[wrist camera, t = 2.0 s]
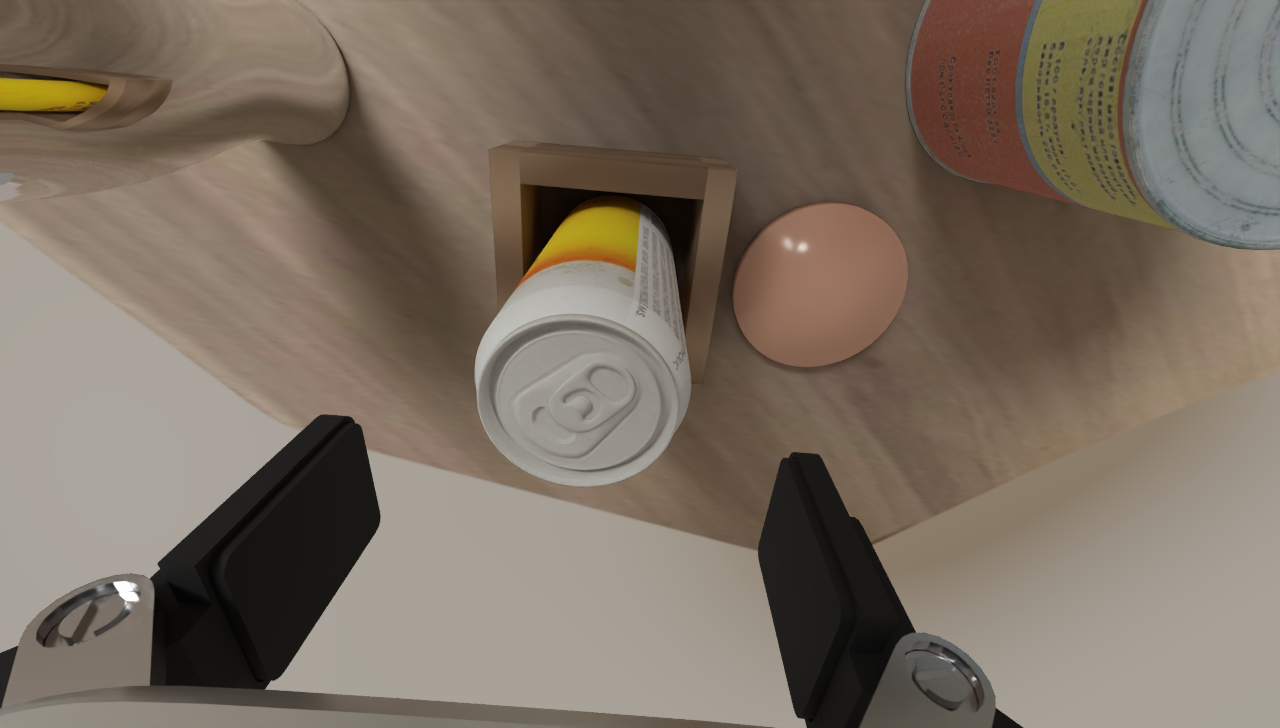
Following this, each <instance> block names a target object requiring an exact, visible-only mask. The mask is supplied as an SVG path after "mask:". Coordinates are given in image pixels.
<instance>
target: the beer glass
mask: <svg viewBox="0 0 1280 728" xmlns="http://www.w3.org/2000/svg"><path fill="white" fill-rule="evenodd" d="M349 97H350V88H349V79H348V74H347V70H346V66H345V63H344V60H343V58H342V55H341V53H340V51H339V49H338V47H337V45H336V43H335V41H334V40H333V38H332V37H331V35H330V34H329V32H328V31H327V29H326V28H325V27H324V26H323V25H322V23H321V22H320V21H319V20H318V19H317V18H316V17H315V16H314V15H313V14H312V13H311V12H310V11H308V10H307V9H306V8H305V7H303V6H302V5H301V4H299V3H298V2H296V1H295V0H0V203H7V202H18V201H28V200H38V199H48V198H56V197H63V196H70V195H77V194H85V193H92V192H99V191H103V190H108V189H113V188H118V187H123V186H127V185H132V184H137V183H142V182H146V181H149V180H152V179H155V178H158V177H161V176H164V175H167V174H170V173H173V172H176V171H179V170H182V169H185V168H187V167H190V166H192V165H194V164H197V163H199V162H202V161H204V160H206V159H209V158H211V157H214V156H216V155H218V154H220V153H223V152H225V151H227V150H229V149H232V148H234V147H237V146H239V145H242V144H244V143H247V142H251V141H256V140H265V141H271V142H277V143H283V144H291V145H309V144H314V143H317V142H320V141H323V140H325V139H326V138H328V137H329V136H331V135H332V134H333V133H334V132H335V131H336V130H337V129H338V128H339V127H340V125H341V124H342V122H343V120H344V118H345V116H346V113H347V110H348V105H349Z"/></svg>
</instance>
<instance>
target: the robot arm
mask: <svg viewBox="0 0 1280 728" xmlns="http://www.w3.org/2000/svg"><path fill="white" fill-rule="evenodd" d="M379 523H380V511H379V506H378V501H377V496H376V492H375V487H374V482H373V478H372V473H371V468H370V464H369V459H368V454H367V450H366V445H365V440H364V436H363V431H362V428H361V426H360V425H359V424H355V422H354V420H353V419H352V417H349V416H338V415H325V414H324V415H320V416H318V417H317V418H316V419H314V420H313V421H312V422H311V423H310V424H309V425H308V426H307V427H306V428H305V429H304V430H302V431H301V432H300V433H299V434H298V435H297V436H296V437H295V438H294V439H293V440H292V441H291V442H289V443H288V444H287V445H286V446H285V447H284V448H283V449H282V450H281V451H279V452H278V453H277V454H276V455H275V456H274V457H273V458H272V459H271V460H270V461H269V462H267V463H266V464H265V465H264V466H263V467H262V468H261V469H260V470H259V471H258V472H257V473H256V474H254V475H253V476H252V477H251V478H250V479H249V480H248V481H247V482H246V483H244V485H242V486H241V487H240V488H239V489H238V490H237V491H236V492H235V493H234V494H232V495H231V496H230V497H229V498H228V499H227V500H226V501H225V502H224V503H223V504H222V505H220V506H219V507H218V508H217V509H216V510H215V511H214V512H213V513H212V514H211V515H209V516H208V517H207V518H206V519H205V520H204V521H203V522H202V523H201V524H200V525H199V526H197V527H196V528H195V529H194V530H193V531H192V532H191V533H190V534H189V535H188V536H187V537H185V539H183V540H182V541H181V542H180V543H179V544H178V545H177V546H176V547H175V548H173V549H172V550H171V551H170V552H169V553H168V554H167V555H166V556H165V557H164V558H163V559H161V561H159V562H158V566H159V567H160V570H159V571H158V572H156V573H155V574H154V575H153V576H152V577H151V578H150V579H148V578H147V577H145V576H144V575H138V574H121V575H114V576H110V577H106V578H103V579H99V580H96V581H93V582H91V583H88V584H86V585H84V586H81V587H79V588H76V589H75V590H73V591H71V592H69V593H68V594H66V595H64V596H62V597H61V598H59V599H57V600H56V601H54V602H53V603H52V604H50V605H49V606H48V607H46V608H45V609H44V610H42V611H41V612H40V613H39V614H38V615H37V616H36V617H35V618H34V619H33V620H32V621H31V623H30V624H29V625H28V626H27V627H26V629H25V631H24V633H23V635H22V637H21V639H20V643H19V646H16V647H14V648H11V649H9V650H7V651H4V652H2V653H0V728H773V727H762V726H751V725H741V724H731V723H720V722H709V721H698V720H685V719H672V718H659V717H645V716H633V715H620V714H607V713H594V712H581V711H568V710H554V709H540V708H525V707H513V706H498V705H485V704H471V703H457V702H443V701H428V700H414V699H400V698H384V697H369V696H353V695H338V694H324V693H307V692H292V691H278V690H265V688H266V687H267V686H268V684H269V683H270V681H271V680H273V681H274V680H276V679H278V678H279V677H280V676H281V675H282V674H283V672H284V671H285V670H286V668H287V667H288V665H289V664H290V662H291V661H292V659H293V658H294V656H295V655H296V653H297V652H298V650H299V649H300V647H301V645H302V644H303V642H304V641H305V639H306V638H307V636H308V635H309V633H310V632H311V630H312V629H313V627H314V626H315V624H316V622H317V621H318V619H319V618H320V616H321V615H322V613H323V612H324V610H325V609H326V607H327V606H328V604H329V603H330V601H331V600H332V598H333V597H334V595H335V594H336V592H337V590H338V589H339V587H340V586H341V585H342V583H343V581H344V580H345V578H346V577H347V575H348V574H349V572H350V571H351V569H352V568H353V566H354V565H355V563H356V562H357V560H358V559H359V557H360V556H361V554H362V552H363V551H364V549H365V548H366V546H367V545H368V543H369V542H370V540H371V539H372V537H373V536H374V534H375V533H376V530H377V529H378V527H379ZM758 557H759V563H760V567H761V571H762V575H763V580H764V584H765V588H766V593H767V597H768V601H769V605H770V610H771V614H772V618H773V622H774V627H775V631H776V635H777V639H778V644H779V648H780V652H781V656H782V661H783V665H784V669H785V673H786V678H787V682H788V686H789V690H790V695H791V699H792V703H793V708H794V711H795V714H796V716H797V717H798V718H802V719H805V722H806V726H807V728H1023V727H1022V726H1020V725H1019V724H1017V723H1016V722H1015V721H1013V720H1012V719H1010V718H1009V717H1008V716H1006V715H1005V714H1004V713H1002V712H1000V711H999V710H998V709H997V708H996V707H995V706H996V705H995V704H996V703H995V694H994V691H993V689H992V686H991V683H990V681H989V680H988V679H987V677H986V676H985V674H984V672H983V671H982V669H981V668H980V667H979V666H978V665H977V664H976V663H975V661H974V660H973V659H972V658H971V657H970V656H969V655H968V654H966V653H965V652H963V651H962V650H961V649H959V648H958V647H957V646H955V645H954V644H952V643H950V642H948V641H946V640H944V639H942V638H940V637H938V636H934V635H931V634H927V633H916V631H915V629H914V628H913V625H912V624H911V622H910V620H909V618H908V616H907V614H906V612H905V610H904V608H903V606H902V604H901V602H900V600H899V598H898V596H897V594H896V592H895V590H894V588H893V586H892V584H891V582H890V580H889V578H888V576H887V574H886V572H885V570H884V568H883V566H882V564H881V562H880V560H879V558H878V556H877V554H876V552H875V550H874V548H873V546H872V544H871V542H870V540H869V538H868V536H867V534H866V532H865V530H864V528H863V526H862V525H861V523H860V522H859V520H858V519H856V518H855V517H850V516H849V514H848V512H847V510H846V508H845V506H844V504H843V502H842V499H841V497H840V495H839V493H838V491H837V489H836V487H835V485H834V483H833V481H832V479H831V477H830V475H829V473H828V471H827V468H826V466H825V464H824V462H823V460H822V458H821V457H820V455H818V454H810V453H798V452H793V453H791V455H790V456H789V458H783V459H782V460H781V463H780V466H779V470H778V474H777V478H776V481H775V485H774V489H773V493H772V496H771V500H770V504H769V508H768V511H767V515H766V519H765V523H764V526H763V530H762V534H761V538H760V541H759V547H758Z"/></svg>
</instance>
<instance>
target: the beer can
mask: <svg viewBox="0 0 1280 728" xmlns="http://www.w3.org/2000/svg"><path fill="white" fill-rule="evenodd" d="M475 384H476V390H477V406H478V412H479V416H480V419H481V422H482V424H483V427H484V429H485V431H486V433H487V435H488V436H489V438H490V440H491V441H492V442H493V444H494V445H495V446H496V448H497V449H498V450H499V451H500V452H501V453H502V454H503V455H504V456H505V457H506V458H507V459H508V460H510V461H511V462H512V463H513V464H515V465H516V466H518V467H519V468H520V469H522V470H524V471H526V472H527V473H529V474H531V475H533V476H536V477H538V478H540V479H543V480H546V481H549V482H552V483H556V484H560V485H566V486H574V487H596V486H604V485H609V484H613V483H617V482H620V481H623V480H626V479H628V478H631V477H633V476H635V475H636V474H638V473H640V472H642V471H643V470H645V469H646V468H648V467H649V466H650V465H651V464H652V463H654V462H655V461H656V460H657V459H658V458H659V457H660V456H661V454H662V453H663V452H664V451H665V449H666V448H667V446H668V445H669V443H670V441H671V439H672V437H673V435H674V433H675V432H676V430H677V429H678V428H679V426H680V424H681V422H682V420H683V419H684V416H685V414H686V411H687V408H688V405H689V400H690V394H691V374H690V367H689V360H688V354H687V347H686V340H685V333H684V326H683V319H682V312H681V306H680V299H679V292H678V285H677V278H676V271H675V265H674V258H673V251H672V245H671V240H670V237H669V234H668V232H667V229H666V228H665V226H664V224H663V222H662V221H661V220H660V218H659V217H658V216H657V215H656V214H655V213H654V212H653V211H652V210H651V209H650V208H648V207H647V206H645V205H644V204H642V203H641V202H638V201H636V200H634V199H631V198H628V197H624V196H618V195H605V196H599V197H595V198H592V199H589V200H587V201H585V202H583V203H581V204H580V205H578V206H577V207H576V208H574V209H573V210H572V211H571V212H570V213H569V214H568V215H567V216H566V218H565V219H564V220H563V222H562V223H561V225H560V226H559V227H558V229H557V230H556V232H555V233H554V235H553V236H552V237H551V239H550V240H549V242H548V243H547V245H546V246H545V247H544V249H543V250H542V252H541V253H540V255H539V256H538V257H537V259H536V260H535V262H534V263H533V265H532V266H531V267H530V269H529V270H528V272H527V273H526V275H525V276H524V277H523V279H522V280H521V282H520V283H519V285H518V286H517V287H516V289H515V290H514V292H513V293H512V295H511V296H510V297H509V299H508V300H507V302H506V303H505V305H504V306H503V307H502V309H501V310H500V312H499V313H498V315H497V316H496V317H495V319H494V320H493V322H492V323H491V325H490V326H489V328H488V329H487V331H486V333H485V334H484V336H483V338H482V340H481V343H480V345H479V348H478V352H477V355H476V361H475Z"/></svg>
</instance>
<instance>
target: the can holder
mask: <svg viewBox="0 0 1280 728" xmlns="http://www.w3.org/2000/svg"><path fill="white" fill-rule="evenodd" d="M489 162H490V179H491V195H492V212H493V228H494V245H495V261H496V278H497V295H498V311H499V312H500V310H501V309H502V307H503V306H504V305H505V303H506V302H507V300H508V299H509V297H510V296H511V295H512V293H513V292H514V290H515V289H516V287H517V286H518V285H519V283H520V282H521V280H522V279H523V277H524V276H525V275H526V273H527V272H528V270H529V269H530V267H531V266H532V265H533V263H534V262H535V260H536V259H537V257H538V256H539V255H540V253H541V252H542V186H552V187H563V188H575V189H586V190H598V191H609V192H620V193H632V194H643V195H655V196H666V197H678V198H689V199H693V206H692V214H691V222H690V229H689V237H688V245H687V253H686V261H685V269H684V277H683V284H682V292H681V300H680V306H681V312H682V319H683V326H684V333H685V340H686V347H687V354H688V360H689V367H690V374H691V383H693V384H703V381H704V375H705V369H706V363H707V357H708V351H709V345H710V339H711V333H712V327H713V321H714V315H715V309H716V303H717V297H718V290H719V284H720V278H721V272H722V266H723V260H724V254H725V248H726V242H727V236H728V230H729V224H730V218H731V212H732V206H733V200H734V193H735V187H736V181H737V175H738V171H737V170H736V169H734V168H733V167H732V166H731V165H730V164H729V163H727V162H726V161H725V160H724V159H716V158H705V157H694V156H683V155H671V154H660V153H649V152H638V151H627V150H615V149H604V148H593V147H582V146H571V145H559V144H548V143H537V142H526V141H513V142H510V143H507V144H504V145H501V146H498V147H495V148H492V149H489Z"/></svg>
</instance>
